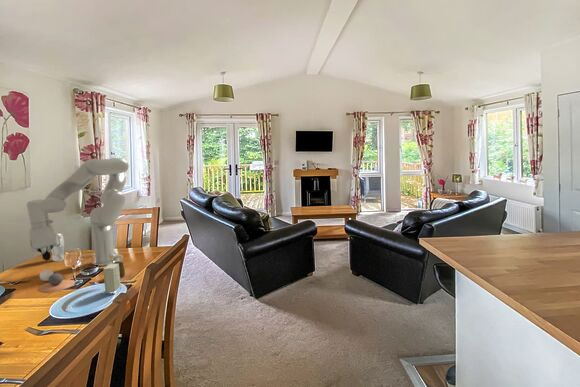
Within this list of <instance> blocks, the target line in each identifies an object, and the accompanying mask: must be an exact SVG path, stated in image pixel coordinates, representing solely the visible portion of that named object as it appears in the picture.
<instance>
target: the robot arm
mask: <svg viewBox="0 0 580 387" xmlns="http://www.w3.org/2000/svg"><path fill="white" fill-rule="evenodd" d="M128 169H129V162H128V161H127V160H126V159H124V158H122V157H111V158H90V159H87V160H85V162H84V163H82V164H81V165H80V166H79V167H78V168H77V169H76V170H75V171H74V172H73V173H72V174H71V175H70V176H69V177H68V178H67V179H65V180H64V181H63V182H61V183H60V184H59V185H57V186H56V187H55V188H54V189H53V190H51V192H50V193H49V194H47V196H46V197H45V198H44V199H32V200H29V201H27V202H26V207H27V213H28V218H29V224H30V228H29V230H28V233H29V236H28V237H29V244H30V248H31V251H32V252H36V253H37V252H39V253H41V256H42V259H43V260H44V261H46V262H48V261H50V260H51V257H52V255H51V252H52V251H51V249H52V248H53V247H55V246H57V245H58V244H57V240H56V236H55V234H56V232H55V230H54V228H53V225H51V224H52V223H54V220H53V219H50V217H49V214H52V213H53V214H55V213H60V212H62V211H64V210H65V209H66V207H67V203H66V201H65V200H66V199H68V198H69V197H70V196H71V195H73V194H75V193H78V192H79V191H82V190H83V189H85V187H87V185H88V184H89V183H91V181H93V179H94V178H95V177H96V176H109V177H108V180H107V183H106V186H105V188H104V189H103V191H102V193H101V195H100V200H99V201H100V202H101V204H103V206H97V207H95V208H93V209H92V210H91V211H90V212H89V213H90V214H89V220H90V225H91V230H92V239H93V248H94V249H93V250H94V258H95V261H96V263H93V262H92V265H93V264H96V265H98V266H97V267H103V266H104V267H105V266H107V265H108V264H112V260H111V259H110V256H109V255H110V254H111V256H112V258H113V263H115V262H119V259H124V255H123V254H121V253H120V254H117V253H116V252H115V248H114V238H113V237H114V236H113V228H112V227H113V225H114V224H116V222H117V221H118V219H119V216H120V214H121V213H122V210H123V208H124V207H125V203H126V196H125V194H124V193H123V190H124V187H125V185H126V180H127V177H126V172H127V171H128ZM121 256H123V257H122V258H121ZM119 257H120V258H119Z"/></svg>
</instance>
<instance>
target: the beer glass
mask: <svg viewBox="0 0 580 387" xmlns="http://www.w3.org/2000/svg"><path fill="white" fill-rule="evenodd" d="M55 236H56V240H57V244H58V245H57V246H55V247H53V248H52V249H51V251H50V252H51V253H52V262H60V261H64V260H65V259H64V257H65V252H64V250H65V249H64V248H65V238H64V234H63V233H62V232H61V233H60V232H59V233H58V232H57V233H55Z"/></svg>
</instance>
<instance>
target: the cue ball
mask: <svg viewBox="0 0 580 387" xmlns="http://www.w3.org/2000/svg"><path fill="white" fill-rule="evenodd" d="M52 274H54V272H53V271H52V270H51V269H44V270H42V271H41V272H40V273H39V279H40V280H41V281H43V282H49V277H50V276H51V275H52Z"/></svg>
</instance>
